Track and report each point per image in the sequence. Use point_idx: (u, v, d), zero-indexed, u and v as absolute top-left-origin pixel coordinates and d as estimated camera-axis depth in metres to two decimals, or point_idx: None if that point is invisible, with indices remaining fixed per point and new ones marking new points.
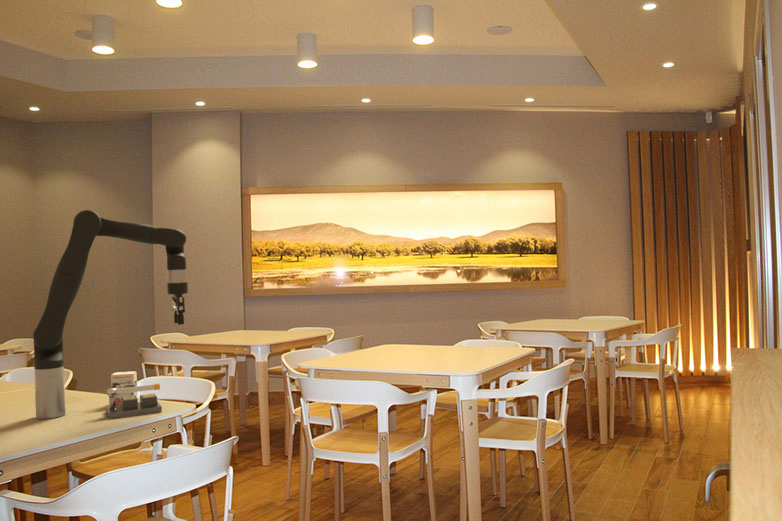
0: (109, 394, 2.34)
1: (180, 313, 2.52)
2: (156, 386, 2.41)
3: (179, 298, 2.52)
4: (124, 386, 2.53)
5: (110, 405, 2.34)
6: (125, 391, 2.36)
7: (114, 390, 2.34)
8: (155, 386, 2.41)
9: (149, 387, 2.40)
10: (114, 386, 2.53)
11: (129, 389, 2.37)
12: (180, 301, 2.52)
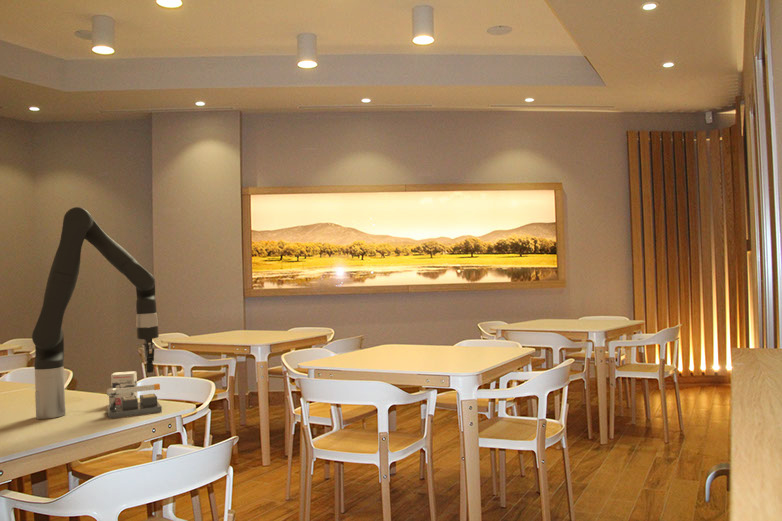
0: (109, 394, 2.34)
1: (149, 361, 2.46)
2: (156, 386, 2.41)
3: (149, 350, 2.43)
4: (124, 386, 2.53)
5: (110, 405, 2.34)
6: (125, 391, 2.36)
7: (114, 390, 2.34)
8: (155, 386, 2.41)
9: (149, 387, 2.40)
10: (114, 386, 2.53)
11: (129, 389, 2.37)
12: (150, 353, 2.43)
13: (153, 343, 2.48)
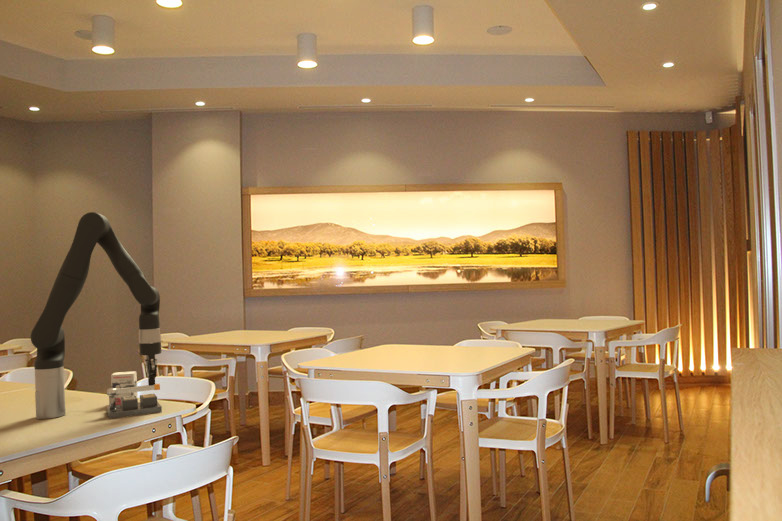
0: (109, 394, 2.34)
1: (151, 377, 2.42)
2: (156, 386, 2.40)
3: (151, 367, 2.38)
4: (124, 386, 2.53)
5: (110, 405, 2.34)
6: (125, 391, 2.36)
7: (114, 390, 2.34)
8: (155, 386, 2.40)
9: (149, 387, 2.40)
10: (114, 386, 2.53)
11: (129, 389, 2.37)
12: (152, 369, 2.39)
13: (156, 359, 2.43)
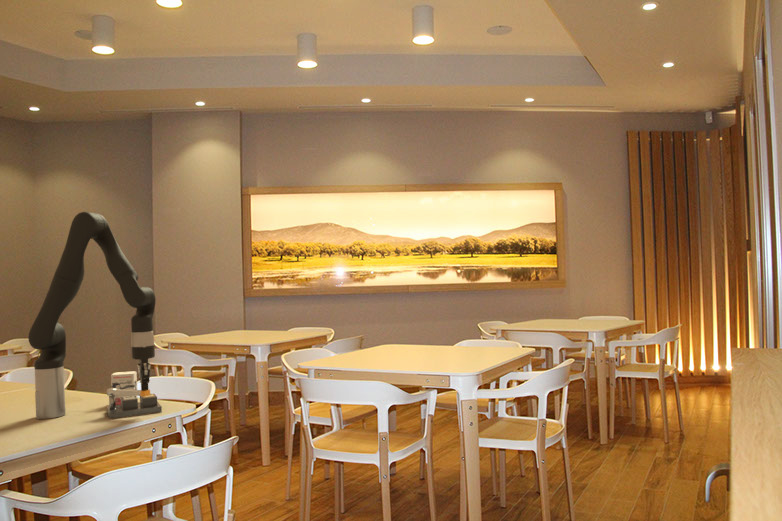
0: (107, 394, 2.34)
1: (144, 383, 2.31)
2: (142, 392, 2.28)
3: (144, 372, 2.27)
4: (124, 386, 2.53)
5: (110, 405, 2.34)
6: (119, 393, 2.33)
7: (110, 390, 2.34)
8: (141, 392, 2.29)
9: (137, 392, 2.30)
10: (114, 386, 2.53)
11: (122, 392, 2.32)
12: (145, 374, 2.28)
13: None
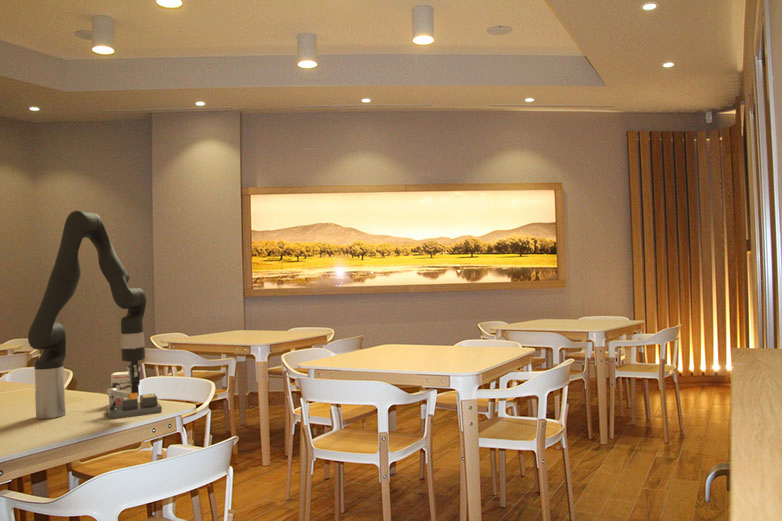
0: (107, 394, 2.35)
1: (134, 385, 2.27)
2: (128, 395, 2.25)
3: (134, 374, 2.23)
4: (124, 386, 2.53)
5: (110, 405, 2.34)
6: (115, 394, 2.32)
7: (109, 391, 2.34)
8: (128, 395, 2.25)
9: (126, 395, 2.26)
10: (114, 386, 2.53)
11: (117, 392, 2.31)
12: (135, 376, 2.24)
13: (139, 365, 2.28)
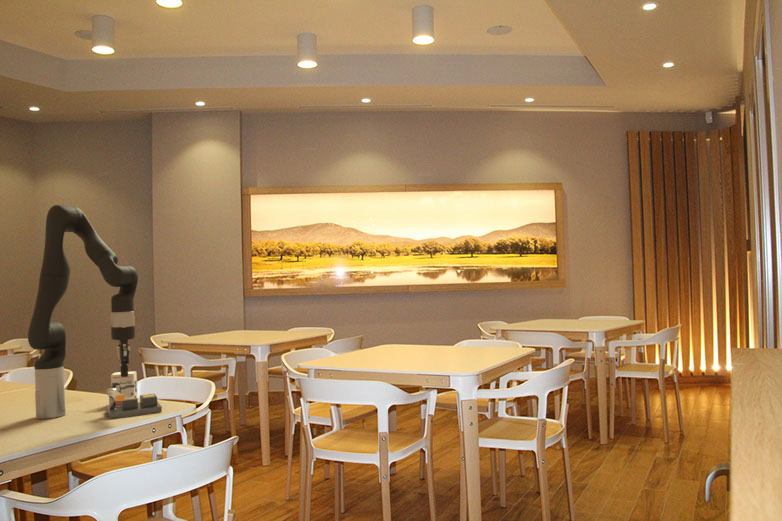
0: None
1: (123, 364, 2.24)
2: (115, 397, 2.22)
3: (123, 353, 2.20)
4: (124, 386, 2.53)
5: (110, 405, 2.34)
6: (111, 394, 2.31)
7: (108, 391, 2.34)
8: (115, 397, 2.22)
9: None
10: (114, 386, 2.53)
11: (112, 393, 2.30)
12: (124, 355, 2.21)
13: (129, 344, 2.25)
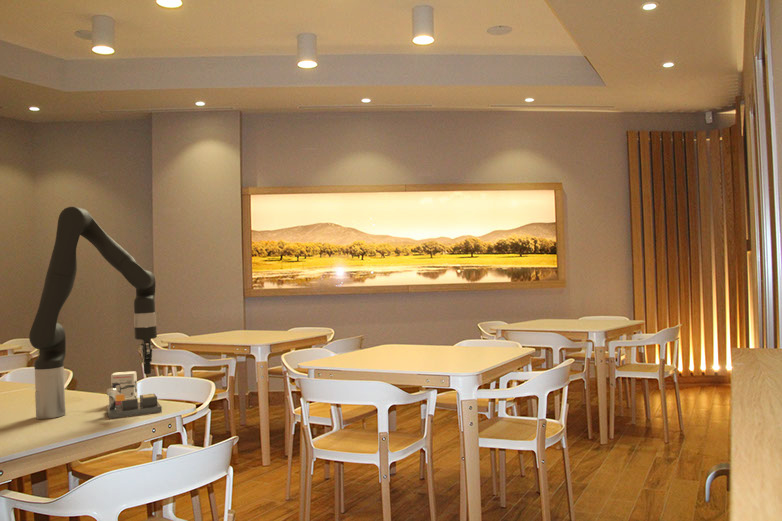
0: None
1: (146, 362, 2.39)
2: (115, 397, 2.22)
3: (146, 351, 2.35)
4: (124, 386, 2.53)
5: (110, 405, 2.34)
6: (111, 394, 2.31)
7: (108, 391, 2.34)
8: (115, 397, 2.22)
9: None
10: (114, 386, 2.53)
11: (112, 393, 2.30)
12: (147, 354, 2.36)
13: (151, 344, 2.40)
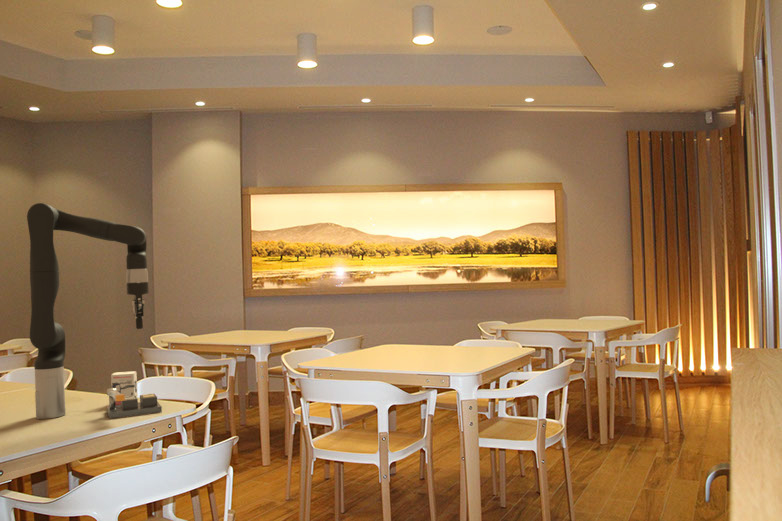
0: None
1: (138, 317, 2.44)
2: (115, 397, 2.22)
3: (138, 306, 2.40)
4: (124, 386, 2.53)
5: (110, 405, 2.34)
6: (111, 394, 2.31)
7: (108, 391, 2.34)
8: (115, 397, 2.22)
9: None
10: (114, 386, 2.53)
11: (112, 393, 2.30)
12: (139, 308, 2.41)
13: (143, 299, 2.45)
